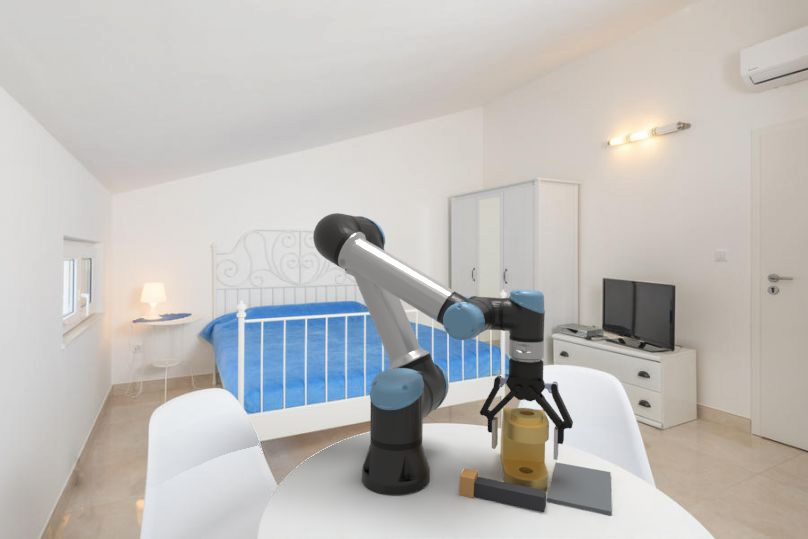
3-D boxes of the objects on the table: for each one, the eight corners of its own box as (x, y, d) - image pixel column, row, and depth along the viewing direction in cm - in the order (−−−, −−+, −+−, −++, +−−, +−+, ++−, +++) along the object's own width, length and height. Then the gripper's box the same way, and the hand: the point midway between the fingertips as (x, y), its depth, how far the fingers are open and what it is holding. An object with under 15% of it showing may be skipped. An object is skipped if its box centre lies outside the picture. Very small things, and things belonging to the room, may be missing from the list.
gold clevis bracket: (550, 498, 95) (552, 421, 95) (505, 494, 96) (506, 418, 96) (538, 457, 115) (539, 393, 114) (500, 454, 116) (501, 391, 116)
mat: (546, 501, 93) (546, 497, 93) (555, 465, 110) (555, 462, 110) (611, 515, 89) (611, 511, 89) (610, 475, 105) (610, 472, 105)
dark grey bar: (459, 495, 96) (459, 476, 96) (464, 486, 99) (464, 468, 99) (543, 514, 89) (544, 493, 89) (546, 504, 92) (546, 484, 92)
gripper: (467, 356, 105) (466, 448, 105) (584, 368, 95) (582, 469, 95) (476, 350, 112) (474, 436, 112) (586, 360, 102) (584, 455, 102)
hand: (524, 451), depth 104 cm, fingers open, 13 cm apart
